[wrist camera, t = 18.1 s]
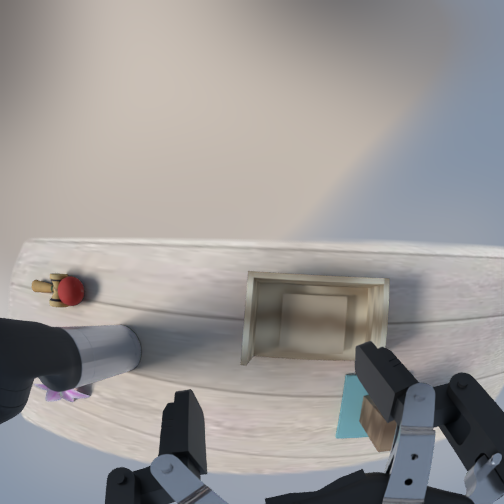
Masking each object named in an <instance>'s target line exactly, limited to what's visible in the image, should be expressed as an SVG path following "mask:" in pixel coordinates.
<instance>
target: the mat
mask: <svg viewBox="0 0 504 504" xmlns="http://www.w3.org/2000/svg"><path fill="white" fill-rule="evenodd" d="M366 395H369V394H368V393H367V391H366V390H365V388H364V387H363V385H362V384H361V382H360V381H359V379H358V377H357V375H346V376H345V383H344V390H343V397H342V403H341V409H340V415H339V421H338V426H337V431H336V438H359V437H369V436H368V435H367V433H366V432H365V430H364V428H363V427H362V425H361V424H360V422H359V419H360V414H361V408H362V402H363V396H366Z"/></svg>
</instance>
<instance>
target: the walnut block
mask: <svg viewBox="0 0 504 504" xmlns="http://www.w3.org/2000/svg"><path fill="white" fill-rule="evenodd" d="M359 422H360V424H361V425H362V427H363V428H364V430H365V432H366V433H367V435H368V436H369V438H370V440H371V441H372V443H373V444H374V446H375V448H376V449H377V451H378V452H383V451H390V450H391V448H392V444H393V440H394V435H395V431H396V426H397V423H396V422H395V420H393V421H391V422H389V423H387V422H386V420H385V419H384V417H383V416H382V414H381V413H380V411H379V410H378V408H377V407H376V405H375V403H374V402H373V400H372V399H371V397H370V396H369V395H366V396H363V402H362V408H361V414H360V419H359Z"/></svg>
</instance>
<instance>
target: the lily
mask: <svg viewBox="0 0 504 504" xmlns="http://www.w3.org/2000/svg"><path fill="white" fill-rule="evenodd" d="M34 385H35V386H37V387H39V388H41V389H43V390H47V393H46V401H57V400H60V399H61V398H63V399H65V400H67V401H70V402H74V400H73V398H88V397H90V396H89V395H86V394H83V393H80V392H78V391H75V390H74V389H71V390H67V391H63V392H55V391H52V390H50V389H49V388H47V387H46V386H45V385H44V384H34Z"/></svg>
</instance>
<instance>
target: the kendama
mask: <svg viewBox="0 0 504 504" xmlns="http://www.w3.org/2000/svg"><path fill="white" fill-rule="evenodd" d="M50 279H51V281H52V282H53V285H52V284H49V283H46V282H42V281H39V280H34V281H33V282H32V289H33V291H34V292H45V293H51V292H54V293H53V296H52V298H51V299H50V300H49V301H50V306H52V307H68V306H74V305H77V304H79V303H80V302H81V301H82V299H83V297H84V287H83V284H82V283H81V281H80V280H79V279H77V278H75V277H71V276H70V277H68V275H67V274H50Z"/></svg>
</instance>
